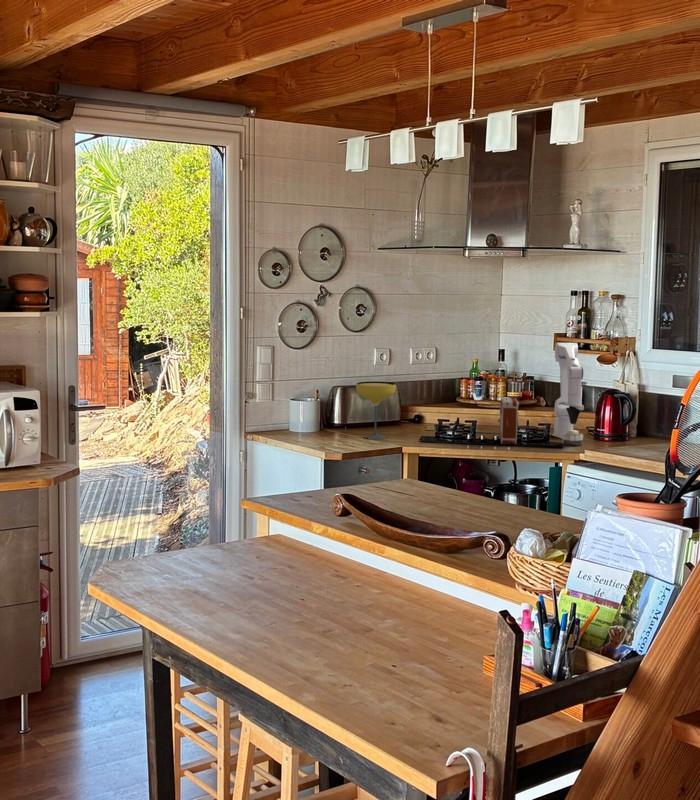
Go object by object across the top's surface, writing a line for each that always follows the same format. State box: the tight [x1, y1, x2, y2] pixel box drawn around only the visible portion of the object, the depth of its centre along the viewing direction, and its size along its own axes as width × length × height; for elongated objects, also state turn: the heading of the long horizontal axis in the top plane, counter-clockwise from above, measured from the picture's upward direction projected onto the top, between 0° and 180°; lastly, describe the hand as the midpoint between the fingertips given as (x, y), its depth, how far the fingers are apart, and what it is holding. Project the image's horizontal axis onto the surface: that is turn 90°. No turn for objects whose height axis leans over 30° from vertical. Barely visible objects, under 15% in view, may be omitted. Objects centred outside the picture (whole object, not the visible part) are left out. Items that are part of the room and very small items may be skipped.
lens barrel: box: [561, 432, 584, 447], centre depth 449 cm, size 9×9×4 cm
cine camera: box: [497, 396, 520, 446], centre depth 454 cm, size 9×19×20 cm, turn 174°
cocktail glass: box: [355, 380, 397, 440], centre depth 460 cm, size 18×18×25 cm
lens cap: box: [567, 429, 579, 436], centre depth 448 cm, size 5×5×4 cm
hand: (573, 423), depth 448 cm, fingers closed
